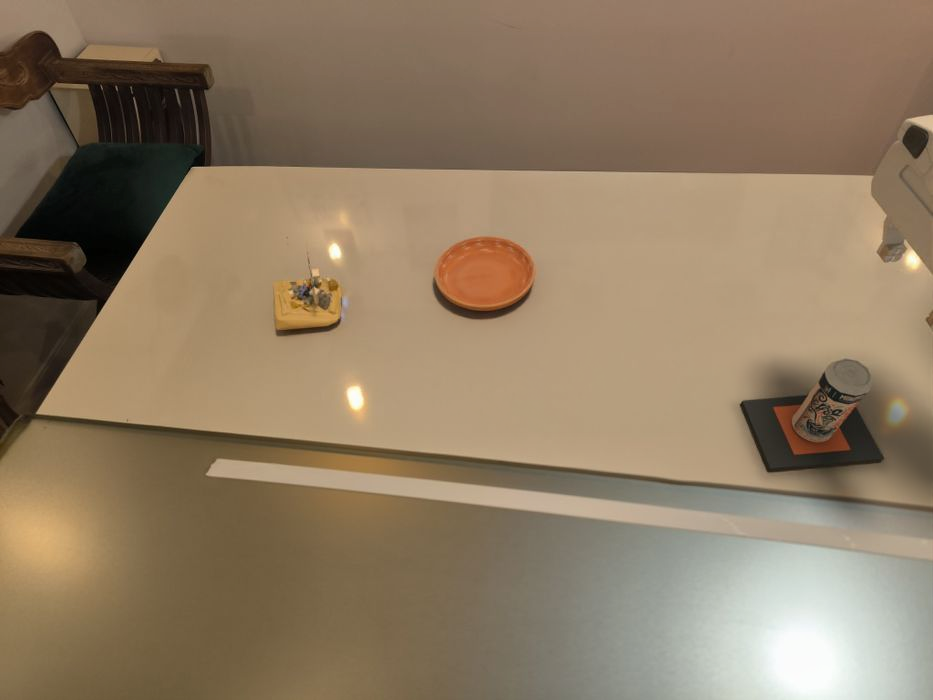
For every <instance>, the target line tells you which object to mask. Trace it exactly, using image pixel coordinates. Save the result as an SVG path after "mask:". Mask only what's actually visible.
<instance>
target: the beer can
mask: <svg viewBox="0 0 933 700" xmlns="http://www.w3.org/2000/svg"><path fill="white" fill-rule="evenodd" d="M872 377H873V376H872V374H871V372H870V369H869V368H868V367H867V366H866V365H864V364H863V363H861V362H860V361H859V360H855V359H850V358H843V359H839V360H836V361H832V362H831V363H829V364H828V365H827V366H826V367H825V369H824V371H823V373H822V374H821V376H820V377H819V379H818V380H817V381H816V383H815V385H814V386H813V388H812V389H811V390H810V392H809V393H808V394H807V395H808V396H807V398H806V399H805V401H804V402H803V403H802V405H801V406H800V408H799V409H798V411H797V412H796V413H795V414H794V416H793V418H792V425H793V427H794V429H795V431H796V432H797V433H798V434H799V435H800V436H801V437H803V438H804V439H806V440H809V441H812V442H824V441H826V440H828V439H829V438H830V437H831V436H832V435H833V434H834V432H835V431H836V430H837V429H838V427H839V426H840V425H841V424H842V422H843V421H844V420H845V419H846V418H847V416H848V415H849V414H850V413H851V411H852V410H853V409H854V408H855V407H856V408H857V406H858V405H859V403H860V402H861V400H862V399H863V398H864V397H865V396H866V395H867V393H868V392H869V391H870V390H871V388H872V383H873V382H872Z"/></svg>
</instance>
